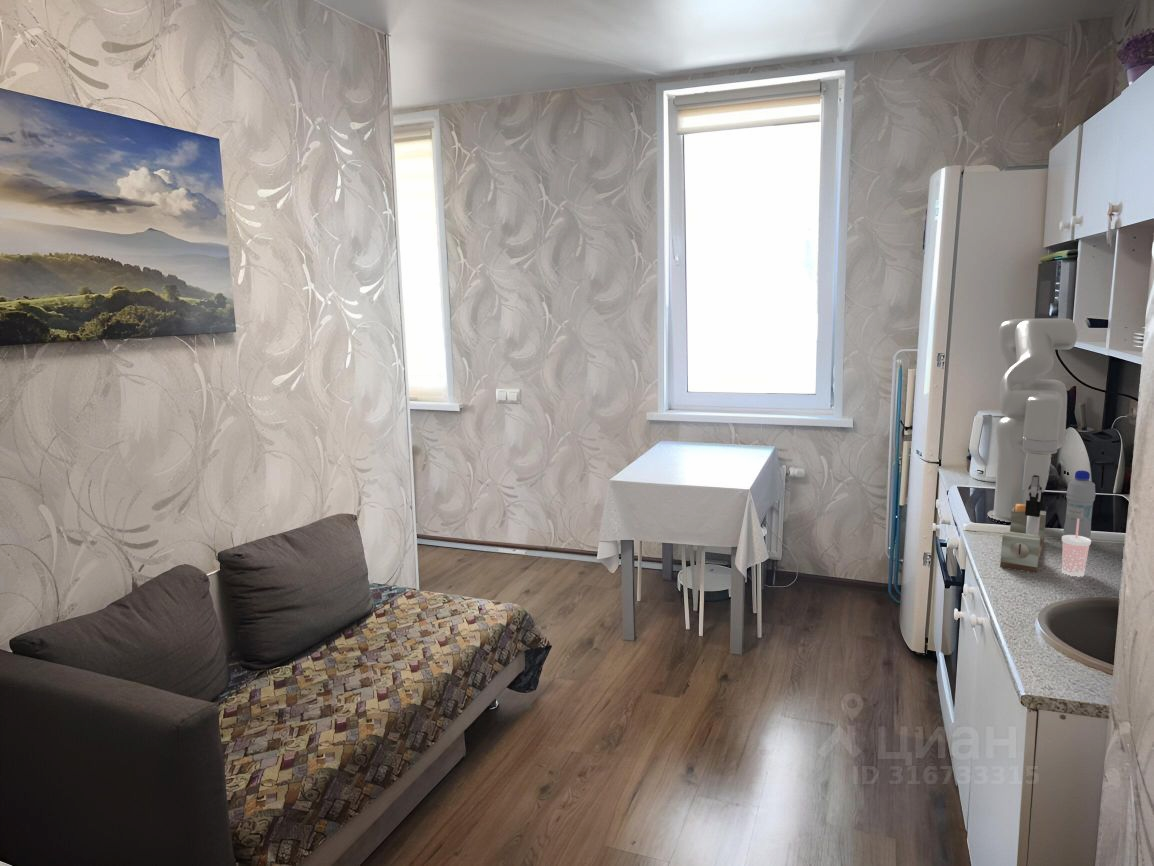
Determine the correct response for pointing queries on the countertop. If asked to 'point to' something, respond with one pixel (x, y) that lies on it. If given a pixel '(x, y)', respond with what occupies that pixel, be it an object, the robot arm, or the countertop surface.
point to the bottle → (1079, 504)
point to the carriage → (1032, 525)
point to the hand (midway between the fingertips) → (1033, 510)
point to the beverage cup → (1075, 553)
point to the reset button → (1020, 507)
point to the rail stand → (1022, 544)
